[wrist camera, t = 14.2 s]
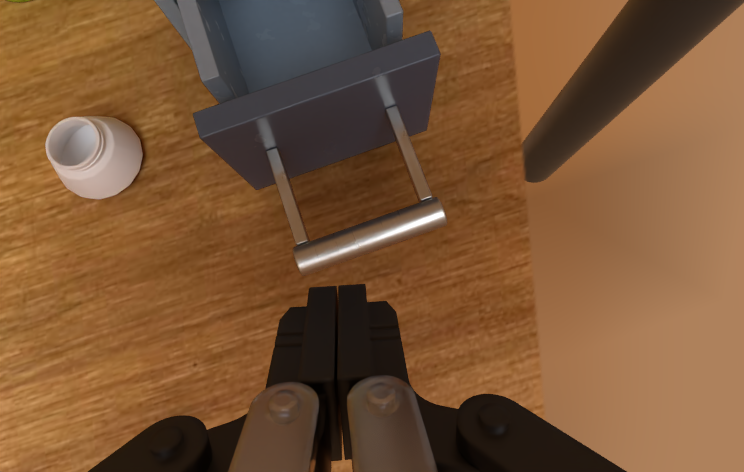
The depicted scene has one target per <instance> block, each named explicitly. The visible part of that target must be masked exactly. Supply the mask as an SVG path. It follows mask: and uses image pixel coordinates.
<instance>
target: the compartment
mask: <svg viewBox="0 0 744 472" xmlns="http://www.w3.org/2000/svg"><path fill="white" fill-rule="evenodd" d="M177 3H178V6H179V9H180V13H181V16H182V19H183V22H184V26H185V29H186V32H187V35H188V39H189V42H190V45H191V49H192V52H193V55H194V58H195V62H196V65H197V68H198V71H199V75H200V78H201V81H202V83H203V84H204V85H205V86H206V87H207V89H208V90H209V91H210V92H211V94H212V95H213V96H214V97H215V98H216V100H217V101H218V102H219V103H220V104H218V105H215V106H212V107H209V108H206V109H203V110H201V111H198V112H195V113H193V117H194V120H195V124H196V127H197V130H198V134H199V137H200V139H201V140H202V141H204V142H205V143H206V144H207V145H208V146H209V147H210V148H211V149H212V150H213V151H214V152H216V153H217V154H218V155H219V156H220V157H221V158H222V159H223V160H224V161H225V162H226V163H228V164H229V165H230V166H231V167H232V168H233V169H234V170H235V171H236V172H237V173H238V174H239V175H241V176H242V177H243V178H244V179H245V180H246V181H247V182H248V183H249V184H250V185H251V186H253V187H254V188H255V189H256V190H258V189H261V188H264V187H267V186H270V185H273V184H275V183H276V185H277V188H278V191H279V194H280V197H281V200H282V203H283V206H284V209H285V212H286V215H287V219H288V222H289V225H290V228H291V231H292V234H293V237H294V240H295V243H296V245H297V246H296V247H294V248H293V255H294V259H295V262H296V265H297V267H298V270H299V272H300V273H301V275H302V276H306V275H309V274H311V273H314V272H317V271H320V270H323V269H325V268H328V267H331V266H334V265H337V264H339V263H342V262H345V261H348V260H351V259H354V258H356V257H359V256H362V255H365V254H368V253H370V252H373V251H376V250H379V249H382V248H384V247H387V246H390V245H393V244H396V243H398V242H401V241H404V240H407V239H410V238H413V237H415V236H418V235H421V234H424V233H427V232H429V231H432V230H435V229H438V228H441V227H443V226H446V225H447V218H446V214H445V211H444V208H443V206H442V203H441V202H440V200H439V199H438V197H434V198H432V194H431V191H430V189H429V186H428V184H427V181H426V178H425V176H424V173H423V171H422V168H421V166H420V163H419V161H418V158H417V155H416V153H415V150H414V148H413V145H412V143H411V140H410V137H409V136H412V135H415V134H417V133H420V132H423V131H426V130H427V127H428V121H429V115H430V110H431V104H432V99H433V93H434V88H435V82H436V77H437V71H438V66H439V60H440V51H439V49H438V46H437V44H436V42H435V39H434V37H433V34H432V32H431V31H427V32H424V33H421V34H418V35H416V36H413V37H410V38H407V39H404V40H402V32H403V9H402V7H401V4H400V2H399V0H177ZM395 141H396V143H397V146H398V148H399V151H400V153H401V156H402V159H403V161H404V164H405V166H406V169H407V172H408V174H409V177H410V179H411V182H412V185H413V187H414V190H415V193H416V195H417V198H418V200H419V203H417V204H414V205H411V206H409V207H406V208H403V209H400V210H397V211H394V212H392V213H389V214H386V215H383V216H380V217H378V218H375V219H372V220H369V221H366V222H363V223H361V224H358V225H355V226H352V227H349V228H347V229H344V230H341V231H338V232H335V233H332V234H330V235H327V236H324V237H321V238H318V239H316V240H313V241H310V240H309V237H308V234H307V231H306V228H305V225H304V222H303V219H302V216H301V213H300V209H299V206H298V203H297V200H296V197H295V194H294V191H293V188H292V185H291V182H290V178H292V177H295V176H298V175H301V174H304V173H307V172H310V171H312V170H315V169H318V168H321V167H324V166H327V165H329V164H332V163H335V162H338V161H341V160H344V159H346V158H349V157H352V156H355V155H358V154H361V153H363V152H366V151H369V150H372V149H375V148H378V147H380V146H383V145H386V144H389V143H392V142H395Z"/></svg>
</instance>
